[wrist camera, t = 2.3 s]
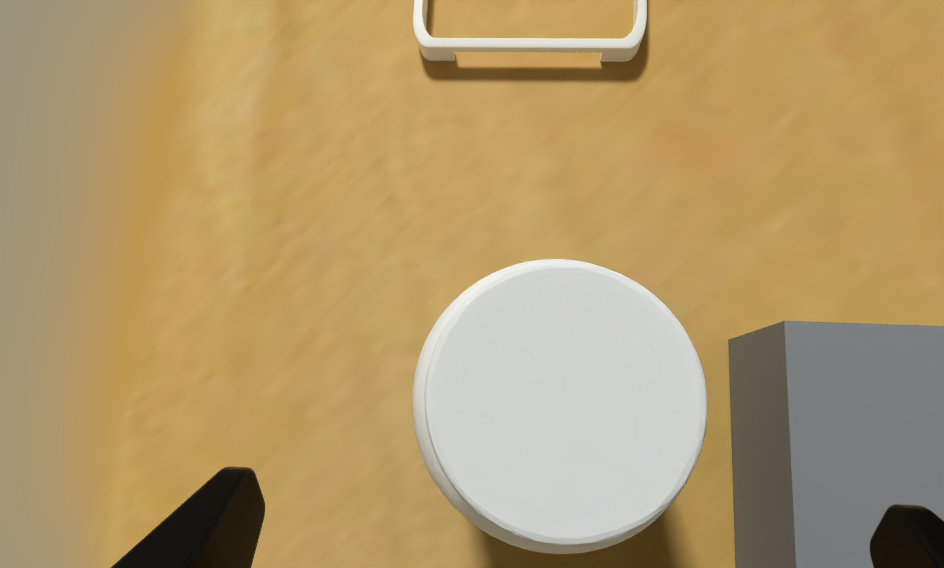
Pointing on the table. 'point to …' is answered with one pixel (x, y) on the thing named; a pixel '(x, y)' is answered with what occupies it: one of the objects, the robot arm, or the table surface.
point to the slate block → (832, 437)
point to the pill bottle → (559, 406)
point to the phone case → (529, 40)
